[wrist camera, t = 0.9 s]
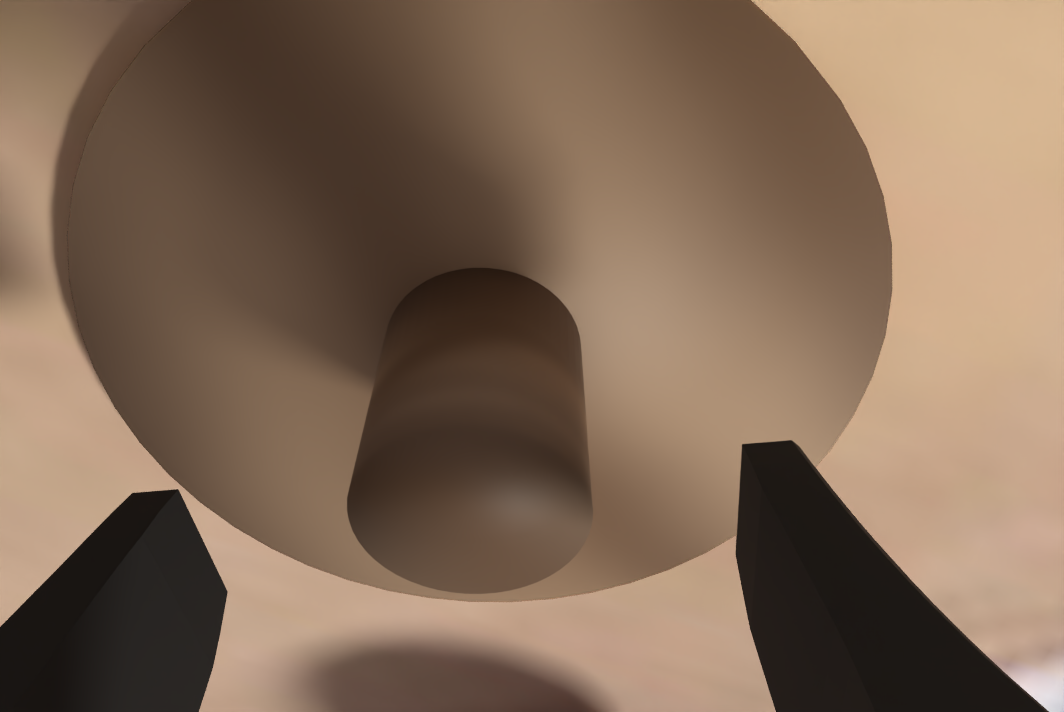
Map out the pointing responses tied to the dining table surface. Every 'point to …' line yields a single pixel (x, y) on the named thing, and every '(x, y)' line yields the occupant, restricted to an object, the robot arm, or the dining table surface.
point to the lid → (477, 278)
